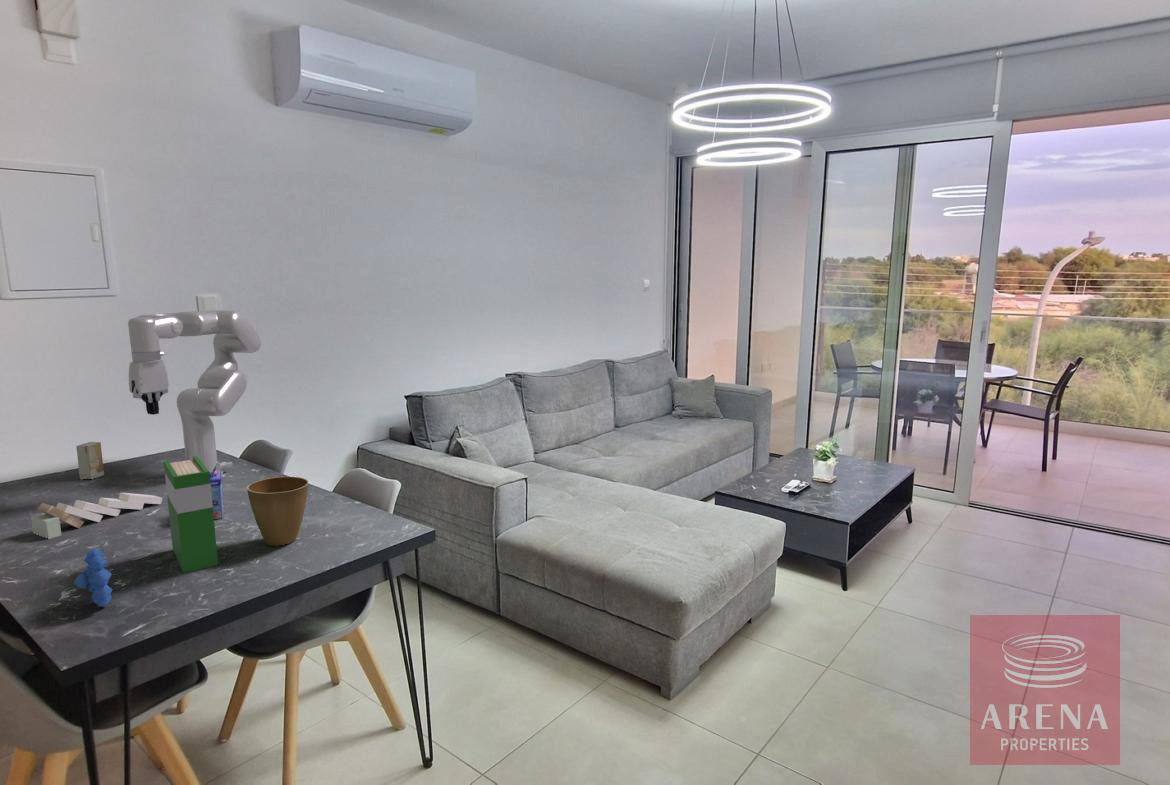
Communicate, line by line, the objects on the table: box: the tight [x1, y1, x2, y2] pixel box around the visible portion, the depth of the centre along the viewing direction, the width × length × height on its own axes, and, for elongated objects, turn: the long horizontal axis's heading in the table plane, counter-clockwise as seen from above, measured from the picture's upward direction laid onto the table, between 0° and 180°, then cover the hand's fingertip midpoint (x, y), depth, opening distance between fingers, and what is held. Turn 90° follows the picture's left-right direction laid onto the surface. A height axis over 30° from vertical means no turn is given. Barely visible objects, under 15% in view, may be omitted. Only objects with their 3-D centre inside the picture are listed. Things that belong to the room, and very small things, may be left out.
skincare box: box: [75, 441, 105, 480], centre depth 231 cm, size 6×4×12 cm
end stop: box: [30, 512, 62, 540], centre depth 180 cm, size 3×8×5 cm, turn 63°
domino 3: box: [73, 499, 121, 517], centre depth 191 cm, size 2×5×10 cm
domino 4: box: [97, 497, 145, 511], centre depth 197 cm, size 2×5×10 cm
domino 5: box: [117, 492, 164, 505], centre depth 202 cm, size 2×5×10 cm
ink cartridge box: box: [210, 466, 224, 520], centre depth 195 cm, size 10×6×14 cm, turn 28°
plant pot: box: [246, 476, 310, 547], centre depth 176 cm, size 15×15×16 cm
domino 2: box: [55, 502, 104, 523], centre depth 187 cm, size 2×5×10 cm
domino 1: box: [36, 502, 85, 529], centre depth 183 cm, size 2×5×10 cm
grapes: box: [73, 548, 113, 607], centre depth 142 cm, size 12×7×12 cm, turn 45°
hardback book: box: [163, 456, 219, 574], centre depth 165 cm, size 18×7×24 cm, turn 39°
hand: (153, 413), depth 210 cm, fingers closed
